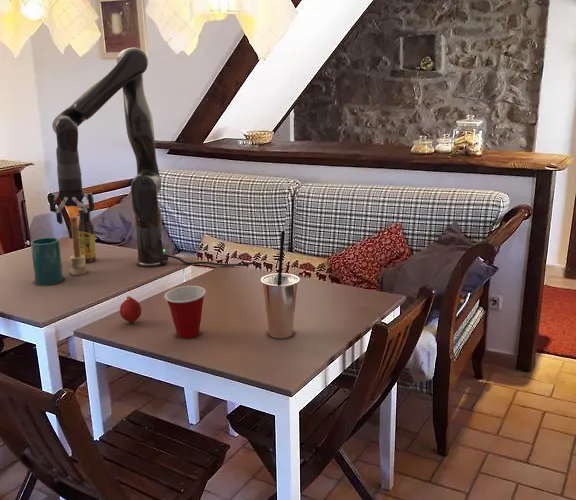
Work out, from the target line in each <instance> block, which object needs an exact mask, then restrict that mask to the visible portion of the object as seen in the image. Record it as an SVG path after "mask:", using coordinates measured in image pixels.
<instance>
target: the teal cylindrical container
mask: <svg viewBox="0 0 576 500" xmlns="http://www.w3.org/2000/svg"><path fill="white" fill-rule="evenodd" d="M30 248H31V249H30V250H31V258H32V266H33V275H34V281H35V284H36V285H37V286H51V285H57V284H60V283H62V282H63V281H64V272H63V264H62V255H61V245H60V239H59V238H57V237H40V238H36V239H32V240H31V241H30Z"/></svg>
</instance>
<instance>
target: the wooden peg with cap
mask: <svg viewBox="0 0 576 500" xmlns="http://www.w3.org/2000/svg"><path fill="white" fill-rule="evenodd" d="M77 218H78V217H77V216H71V217H70V218H69V219H70V220H69V221H70V230H71V238H72V249H73V255H70V256H69V262H70V263H69V264H70V273H71V275H72V276H82V275H86V274H87V262H85V255H80V248H79V238H78V219H77Z"/></svg>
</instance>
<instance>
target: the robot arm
mask: <svg viewBox="0 0 576 500" xmlns="http://www.w3.org/2000/svg"><path fill="white" fill-rule="evenodd" d="M148 67H149V57H148V55H147V53H146V52H145V51H144V50H142V49H141V48H138V47H129V48H125V49H123V50H121V51H120V52H119V54H118V55H117V58H116V64H115V66H113V68H112V69H111V70H110V71H109V72H107V74H106V75H105V76H103V77H102V78H101V79H99V80H98V81H96V82H95V83H94V84H93V85H91V86H90V87H89V88H87V90H85V91H84V92H83V93H82V94H81V95H80V96H79V97H78V98H77V99H75V101H73V103H72V104H71V105H70V106H68V107H67V108H66V109H64V110H63V111H61V112H60V113H59V114H58V115H56V116H55V118H54V120H53V121H52V125H51V126H52V127H51V128H52V130H53V132H54V133H55V135H56V149H55V156H56V176H57V185H58V193H54V192H52V193H50V194H49V211H50V212H51V213H54V214H56V222H57V223H58V224H59V225H62V224H63V212H62V210H64V208H65V207H78V208H81V209H82V210H83V211H84V212H85V213H84V221H85V224H87V223H88V222H89V220H90V221H91V216H90V217H89V212H90V213H91V212H93V211H94V210H95V201H94V196H93V195H94V194H93V192H88V193H87V192H86V193H85V192H83V181H82V171H81V170H82V169H81V165H80V155H79V148H78V147H79V146H78V145H79V127H80V125H81V124H82V123H84V122H85V121H88V120H89V119H91V118H92V117H93V116H94V115H95V114H96V113H97V112H99V111H100V110H101V109H102V107H104V105H106V104H107V103H108V102H109V101H110V100H111V98H113V97H114V95H116V94H117V93H118V92H119V91H120V90H121V89H122V95H123V109H124V120H125V121H124V122H125V130H126V135H127V138H128V142H129V145H130V146H131V149H132V152H133V154H134V157H135V162H136V176H134V177H133V179H132V180H131V183H130V197H131V206H132V210H133V214H134V221H135V222H134V223H135V233H136V234H135V235H136V246H137V248H136V249H137V260H138V261H137V264H138V265H139V266H141V267H155V266H163V265H164V264H165V262H166V261H169V258H171V259H176V260H179V261H180V262H181V263H183V264H185V265H201V264H207V265H213V266H221V267H245V266H249V265H253V266H256V267H257V268H259V267H260V265H259V264H258V263H256V262H251V261H250V262H246V263H217V262H212V261H194V262H192V261H191V262H189V261H185V260H184V259H183V258H181V257H178V256H175V255H170V253H169V250H168V251H167V250H165V239H164V235H163V223H162V210H161V208H160V207H159V201H158V194H159V193H160V191H161V189H162V179H161V173H160V170H159V165H158V161H157V153H156V139H155V129H154V121H153V114H152V110H151V107H150V103H149V101H148V98H147V96H146V92H145V88H144V73H145V72H146V71H147V69H148ZM84 198H85V200H87V202H88V206H87V205H86V203H85V202H84V201H83V199H84ZM58 199H59V201H60V204H59V205H58V207H56V201H57V200H58Z"/></svg>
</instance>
